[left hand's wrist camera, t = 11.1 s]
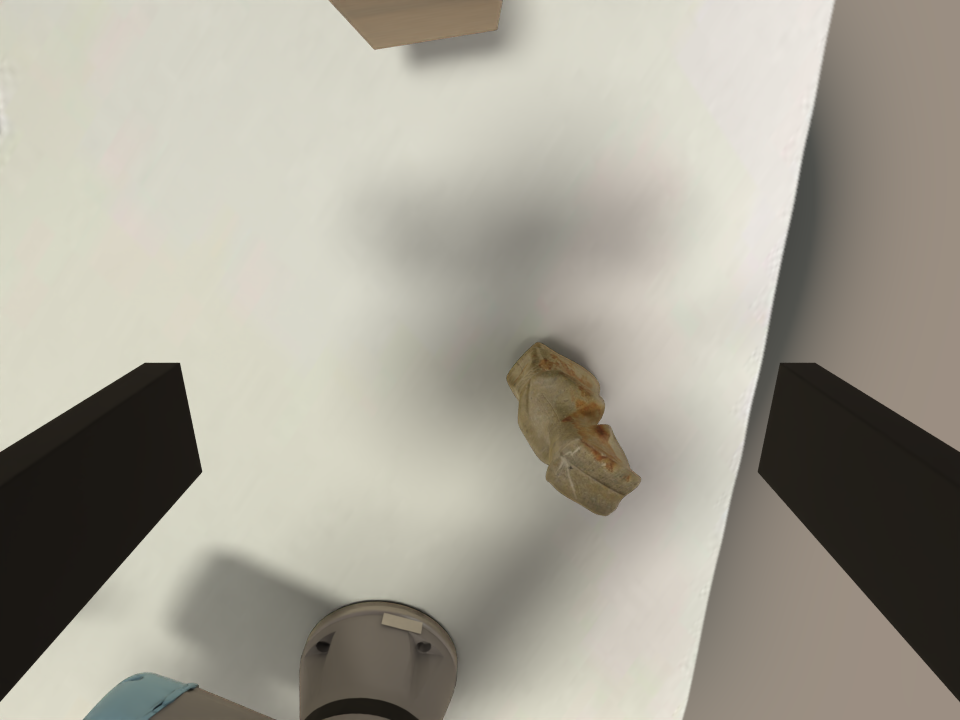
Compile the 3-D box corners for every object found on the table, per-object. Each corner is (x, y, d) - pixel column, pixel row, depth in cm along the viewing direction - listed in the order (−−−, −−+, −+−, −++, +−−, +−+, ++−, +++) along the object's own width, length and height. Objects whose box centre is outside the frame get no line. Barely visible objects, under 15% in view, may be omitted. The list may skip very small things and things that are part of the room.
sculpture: (558, 425, 46) (592, 544, 32) (492, 373, 44) (498, 475, 30) (607, 375, 44) (667, 478, 30) (541, 319, 42) (572, 401, 28)
